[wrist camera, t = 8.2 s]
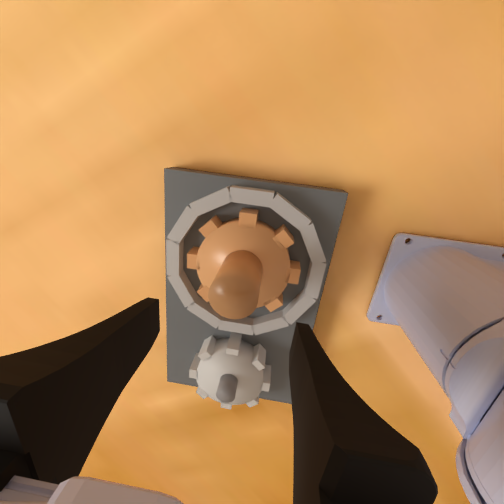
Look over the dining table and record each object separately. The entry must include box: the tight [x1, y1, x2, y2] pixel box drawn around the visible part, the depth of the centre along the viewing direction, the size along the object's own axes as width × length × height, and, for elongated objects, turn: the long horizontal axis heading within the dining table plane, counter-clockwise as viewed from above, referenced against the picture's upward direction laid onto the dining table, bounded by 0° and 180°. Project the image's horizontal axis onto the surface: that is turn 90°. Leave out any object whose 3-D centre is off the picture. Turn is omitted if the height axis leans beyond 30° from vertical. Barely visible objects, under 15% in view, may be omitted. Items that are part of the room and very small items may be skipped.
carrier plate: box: [164, 167, 348, 409], centre depth 21 cm, size 13×21×5 cm, turn 173°
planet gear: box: [187, 208, 301, 319], centre depth 18 cm, size 8×8×6 cm
